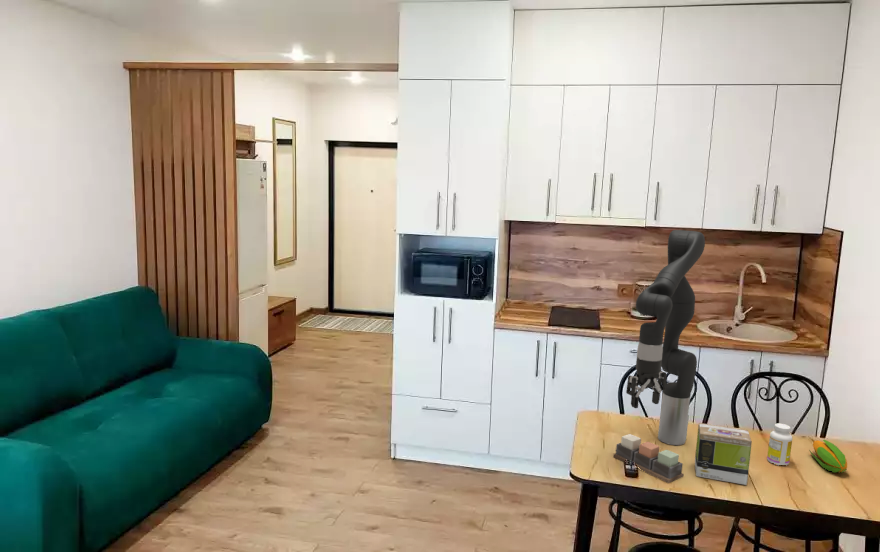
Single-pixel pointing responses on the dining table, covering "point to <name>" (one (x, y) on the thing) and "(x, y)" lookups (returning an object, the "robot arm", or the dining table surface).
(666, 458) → the button sage
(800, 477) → the dining table surface
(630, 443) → the button ivory
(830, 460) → the corn
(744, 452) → the tea box
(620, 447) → the grey button tray
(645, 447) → the button terracotta
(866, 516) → the dining table surface
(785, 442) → the supplement bottle
